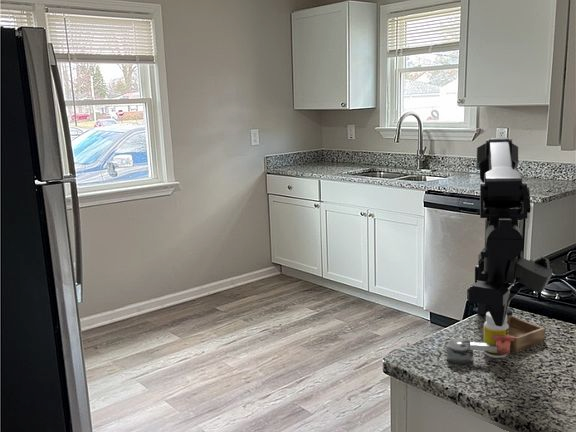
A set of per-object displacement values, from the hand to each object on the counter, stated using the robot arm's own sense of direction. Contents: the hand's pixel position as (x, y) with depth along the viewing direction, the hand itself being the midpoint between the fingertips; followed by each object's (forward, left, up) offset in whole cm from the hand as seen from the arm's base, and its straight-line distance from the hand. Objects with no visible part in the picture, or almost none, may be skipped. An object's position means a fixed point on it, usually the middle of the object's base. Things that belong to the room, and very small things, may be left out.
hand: (499, 325), depth 105 cm
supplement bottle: (-5, -5, -9) cm, 12 cm away
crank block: (+3, -7, -9) cm, 12 cm away
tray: (-13, -7, -9) cm, 17 cm away
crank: (0, -4, -7) cm, 8 cm away
